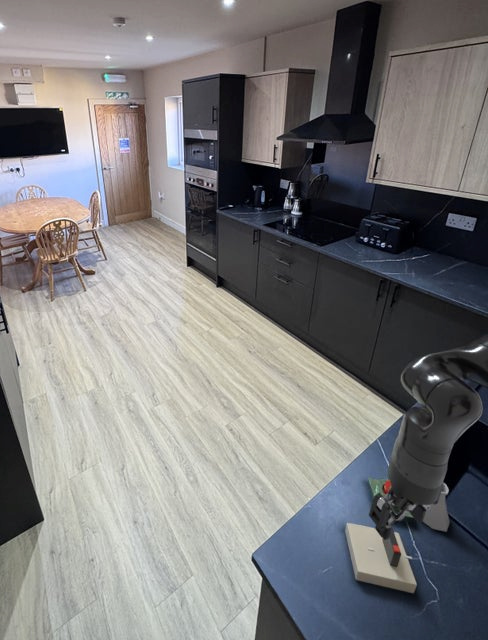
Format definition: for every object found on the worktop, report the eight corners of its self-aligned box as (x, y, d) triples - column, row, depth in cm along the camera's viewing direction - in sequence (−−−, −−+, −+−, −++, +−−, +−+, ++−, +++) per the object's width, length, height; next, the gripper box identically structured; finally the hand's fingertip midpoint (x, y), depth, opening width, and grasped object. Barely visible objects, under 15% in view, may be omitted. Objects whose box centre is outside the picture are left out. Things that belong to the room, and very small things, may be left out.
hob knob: (382, 539, 72) (385, 526, 70) (388, 541, 72) (392, 527, 70) (389, 565, 68) (394, 551, 66) (397, 567, 67) (401, 553, 66)
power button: (396, 486, 82) (398, 482, 81) (402, 502, 78) (404, 497, 78) (381, 484, 82) (382, 479, 82) (386, 499, 79) (387, 494, 79)
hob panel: (400, 542, 74) (403, 533, 73) (418, 594, 65) (422, 585, 64) (344, 530, 76) (346, 521, 75) (355, 580, 68) (358, 570, 67)
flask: (412, 493, 84) (420, 465, 80) (447, 508, 80) (457, 480, 77) (414, 520, 78) (423, 492, 75) (451, 538, 74) (462, 509, 71)
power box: (399, 489, 85) (403, 478, 83) (413, 524, 77) (417, 513, 76) (367, 483, 86) (369, 473, 85) (377, 517, 79) (380, 506, 77)
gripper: (405, 501, 51) (387, 564, 56) (468, 472, 55) (445, 533, 60) (367, 457, 58) (353, 517, 63) (426, 434, 62) (408, 493, 67)
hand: (398, 525), depth 62 cm, fingers open, 8 cm apart
